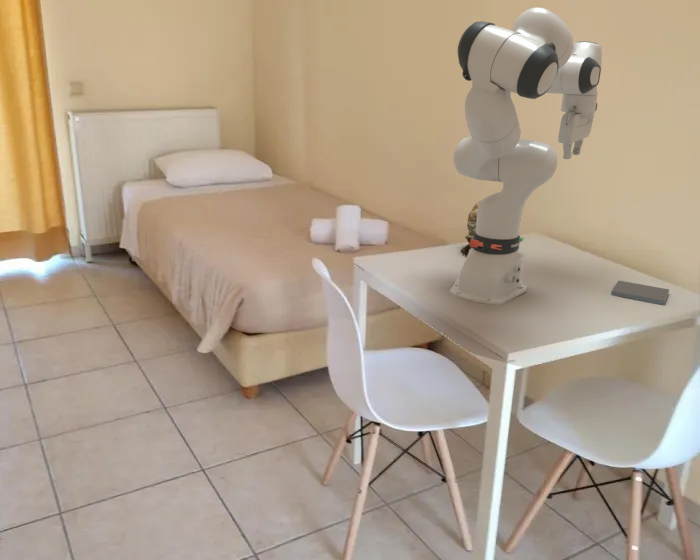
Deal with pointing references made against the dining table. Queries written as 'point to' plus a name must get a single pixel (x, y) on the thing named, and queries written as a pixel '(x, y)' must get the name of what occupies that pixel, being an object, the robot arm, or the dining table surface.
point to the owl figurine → (471, 227)
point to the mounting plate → (640, 292)
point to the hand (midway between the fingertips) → (571, 156)
